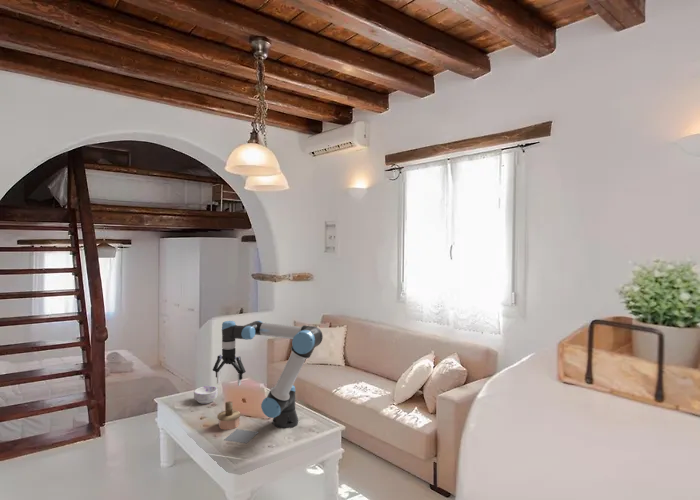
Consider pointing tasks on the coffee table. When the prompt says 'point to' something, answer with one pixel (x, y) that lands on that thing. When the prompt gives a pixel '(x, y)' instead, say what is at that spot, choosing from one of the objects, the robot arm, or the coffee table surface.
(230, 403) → the lid
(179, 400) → the coffee table surface
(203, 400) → the paper bowls
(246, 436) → the mat
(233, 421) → the bowl
